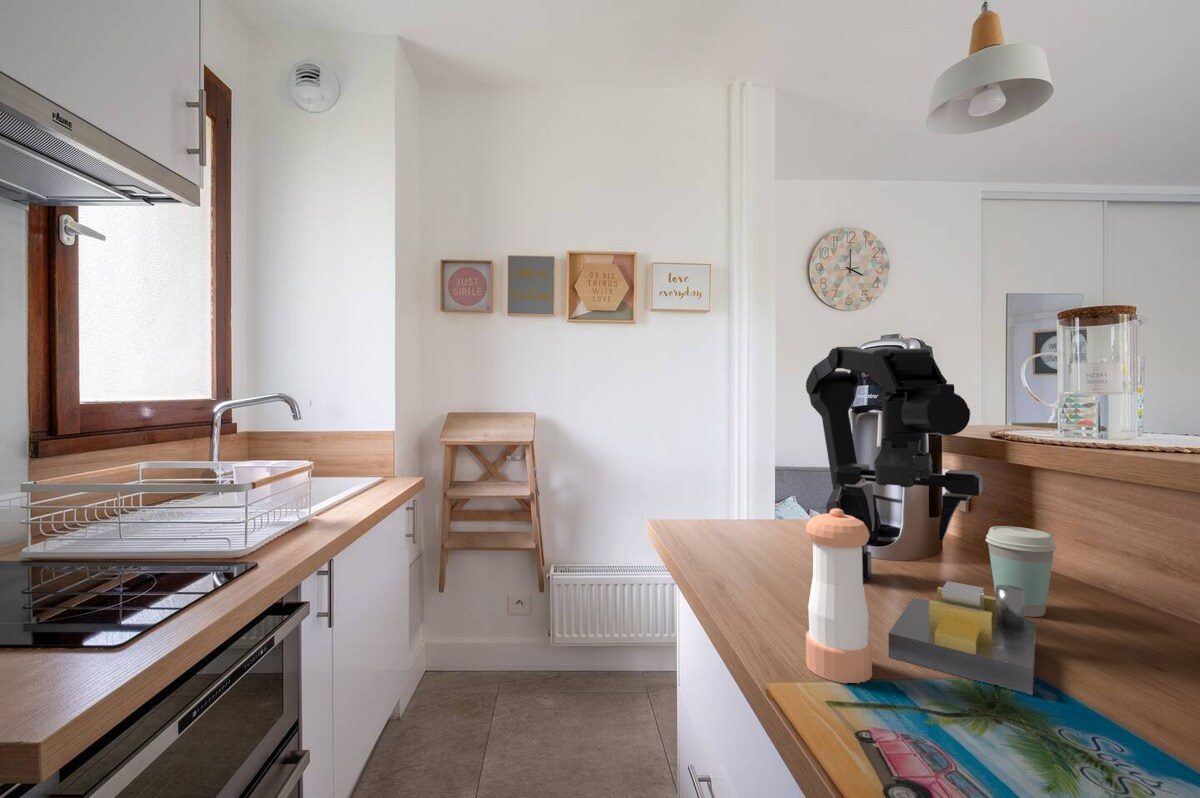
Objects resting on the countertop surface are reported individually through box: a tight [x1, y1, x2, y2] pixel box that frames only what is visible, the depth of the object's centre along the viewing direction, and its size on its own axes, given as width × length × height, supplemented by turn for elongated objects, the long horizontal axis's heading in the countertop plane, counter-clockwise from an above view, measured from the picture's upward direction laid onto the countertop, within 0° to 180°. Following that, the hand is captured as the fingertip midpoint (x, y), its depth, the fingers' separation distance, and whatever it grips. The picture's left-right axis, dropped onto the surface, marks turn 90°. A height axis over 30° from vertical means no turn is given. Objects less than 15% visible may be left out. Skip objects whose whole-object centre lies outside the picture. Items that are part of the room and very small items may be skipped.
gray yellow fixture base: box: [887, 585, 1036, 696], centre depth 68 cm, size 14×16×8 cm
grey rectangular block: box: [942, 580, 985, 611], centre depth 68 cm, size 4×4×8 cm
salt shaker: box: [805, 508, 873, 684], centre depth 64 cm, size 7×7×19 cm
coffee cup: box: [985, 525, 1057, 618], centre depth 82 cm, size 8×9×12 cm
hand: (905, 535), depth 79 cm, fingers open, 9 cm apart
